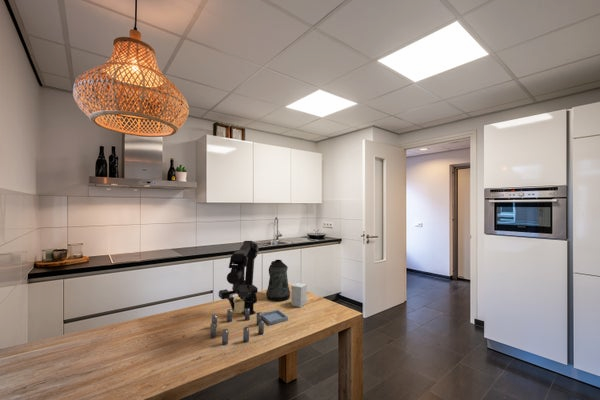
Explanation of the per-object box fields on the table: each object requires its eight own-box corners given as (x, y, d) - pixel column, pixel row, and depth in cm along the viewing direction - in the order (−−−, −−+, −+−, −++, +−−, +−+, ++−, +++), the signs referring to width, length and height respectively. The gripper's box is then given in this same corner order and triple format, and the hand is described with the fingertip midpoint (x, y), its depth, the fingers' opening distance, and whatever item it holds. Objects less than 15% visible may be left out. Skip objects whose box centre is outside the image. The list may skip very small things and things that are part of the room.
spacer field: (203, 326, 138) (203, 314, 138) (251, 314, 153) (251, 304, 153) (218, 350, 116) (218, 337, 116) (272, 334, 131) (272, 322, 131)
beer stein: (282, 303, 170) (282, 264, 170) (257, 298, 179) (258, 261, 179) (294, 295, 184) (295, 259, 184) (271, 290, 194) (272, 256, 194)
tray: (260, 317, 150) (260, 313, 150) (278, 313, 156) (278, 309, 156) (269, 325, 140) (269, 321, 140) (287, 320, 147) (287, 316, 147)
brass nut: (231, 309, 136) (231, 299, 136) (241, 307, 139) (241, 297, 139) (235, 313, 131) (235, 303, 131) (245, 311, 134) (245, 301, 134)
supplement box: (306, 304, 170) (307, 284, 170) (300, 307, 164) (301, 287, 164) (297, 301, 174) (297, 282, 174) (290, 305, 168) (291, 285, 168)
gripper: (225, 285, 123) (224, 319, 123) (262, 279, 133) (261, 310, 133) (218, 279, 132) (218, 310, 132) (253, 273, 142) (253, 302, 142)
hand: (238, 308), depth 135 cm, fingers closed on brass nut, 5 cm apart
